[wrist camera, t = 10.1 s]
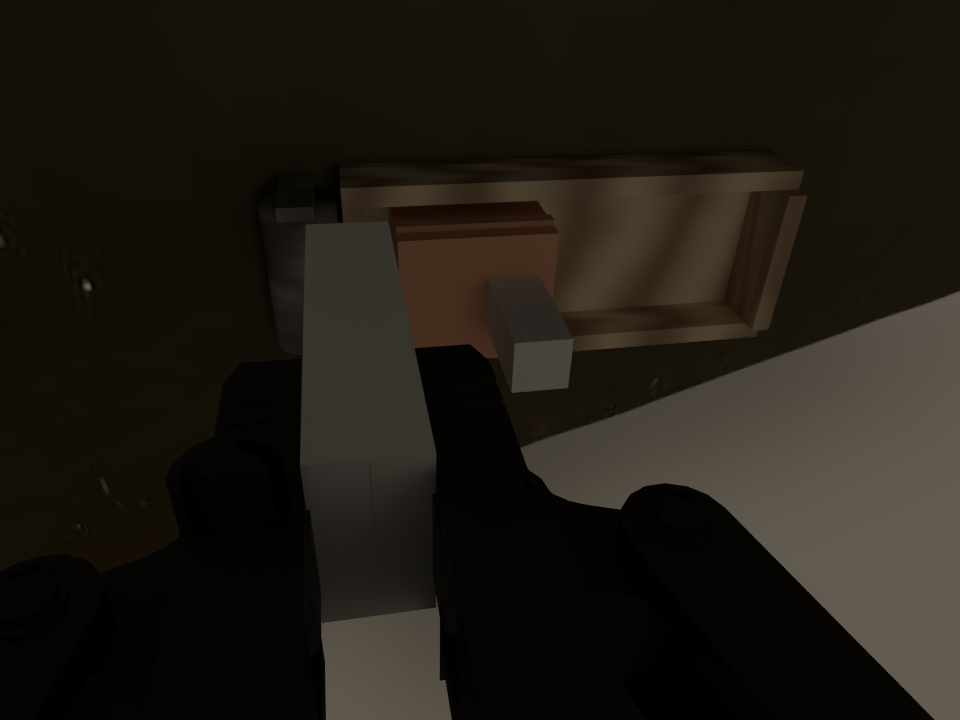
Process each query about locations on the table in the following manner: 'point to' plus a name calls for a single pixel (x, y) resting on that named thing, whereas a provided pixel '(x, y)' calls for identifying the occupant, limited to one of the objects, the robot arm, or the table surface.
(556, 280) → the bay
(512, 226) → the brown block with post
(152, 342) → the table surface
